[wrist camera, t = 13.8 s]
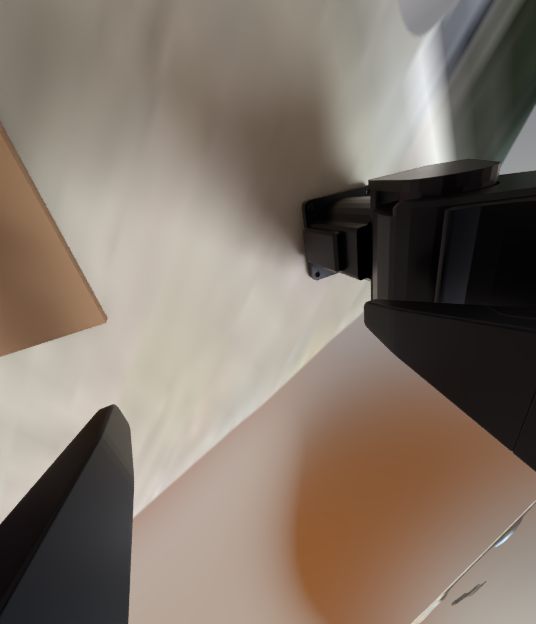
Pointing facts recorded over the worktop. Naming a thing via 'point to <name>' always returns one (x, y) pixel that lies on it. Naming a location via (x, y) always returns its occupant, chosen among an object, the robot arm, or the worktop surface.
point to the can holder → (36, 266)
